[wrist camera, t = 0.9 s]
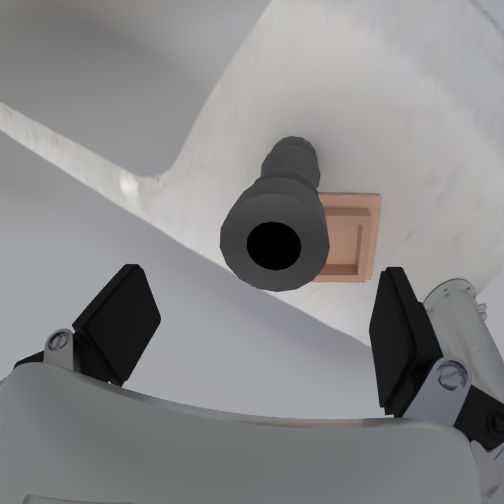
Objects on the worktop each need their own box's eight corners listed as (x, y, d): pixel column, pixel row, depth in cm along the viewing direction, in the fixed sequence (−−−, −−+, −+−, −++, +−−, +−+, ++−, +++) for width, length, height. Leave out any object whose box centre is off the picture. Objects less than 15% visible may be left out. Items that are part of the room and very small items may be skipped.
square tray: (378, 194, 35) (386, 203, 32) (369, 276, 42) (373, 291, 38) (281, 193, 38) (279, 202, 35) (285, 276, 45) (283, 291, 41)
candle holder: (317, 179, 36) (331, 296, 15) (273, 180, 37) (224, 293, 16) (315, 135, 33) (336, 186, 12) (269, 137, 34) (205, 191, 13)
